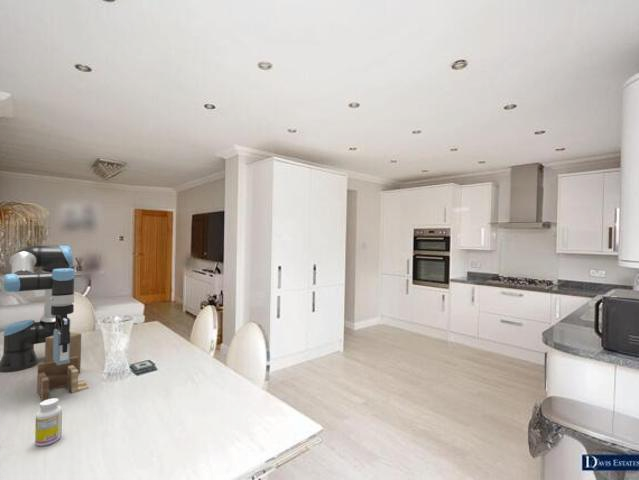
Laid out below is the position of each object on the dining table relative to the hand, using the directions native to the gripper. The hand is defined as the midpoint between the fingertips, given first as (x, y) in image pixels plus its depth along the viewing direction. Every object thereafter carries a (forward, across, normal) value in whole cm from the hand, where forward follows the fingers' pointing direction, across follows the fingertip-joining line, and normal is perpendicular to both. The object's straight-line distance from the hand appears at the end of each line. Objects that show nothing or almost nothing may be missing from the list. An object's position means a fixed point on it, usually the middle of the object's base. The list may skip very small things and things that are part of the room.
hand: (61, 356), depth 134 cm
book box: (+2, 0, 0) cm, 2 cm away
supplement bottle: (+17, +35, -9) cm, 40 cm away
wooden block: (+17, -25, +5) cm, 31 cm away
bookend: (+17, -5, +7) cm, 19 cm away
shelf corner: (+17, -5, +1) cm, 17 cm away
